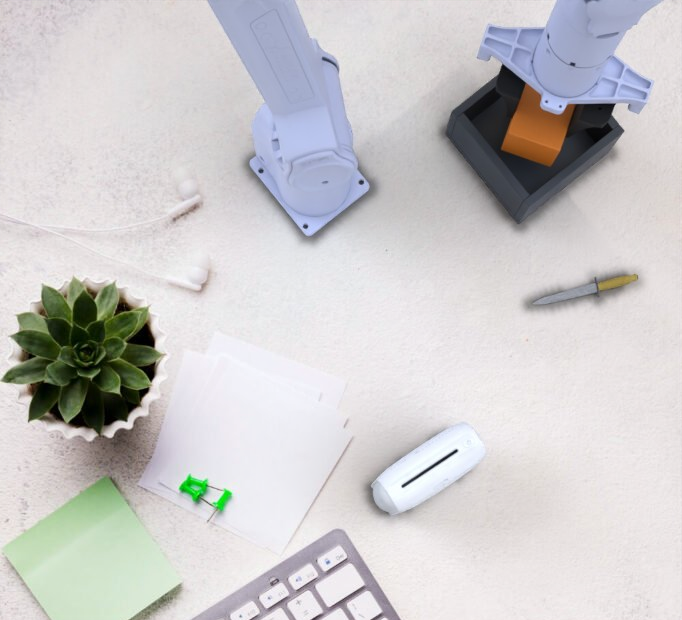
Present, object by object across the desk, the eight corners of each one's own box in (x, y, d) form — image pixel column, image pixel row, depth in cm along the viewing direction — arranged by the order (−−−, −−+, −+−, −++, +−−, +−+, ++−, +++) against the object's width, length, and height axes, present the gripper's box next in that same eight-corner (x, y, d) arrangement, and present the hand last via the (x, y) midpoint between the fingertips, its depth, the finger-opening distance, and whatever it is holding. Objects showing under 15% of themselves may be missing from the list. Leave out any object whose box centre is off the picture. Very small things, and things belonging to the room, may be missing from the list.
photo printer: (450, 427, 84) (471, 410, 72) (474, 464, 84) (499, 452, 71) (363, 485, 84) (369, 477, 71) (387, 521, 84) (397, 520, 71)
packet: (500, 150, 81) (507, 133, 77) (524, 81, 81) (532, 60, 77) (550, 167, 81) (560, 151, 77) (574, 98, 81) (584, 78, 77)
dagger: (534, 314, 84) (530, 293, 83) (532, 314, 85) (528, 294, 84) (640, 286, 83) (637, 266, 83) (637, 287, 84) (633, 267, 84)
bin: (444, 133, 84) (451, 110, 80) (535, 61, 85) (547, 34, 80) (518, 224, 84) (529, 206, 80) (609, 152, 85) (624, 130, 80)
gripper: (477, 49, 66) (452, 131, 79) (655, 111, 66) (600, 182, 79) (507, -36, 66) (477, 60, 79) (684, 25, 66) (624, 111, 79)
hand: (540, 117), depth 79 cm, fingers closed on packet, 5 cm apart
